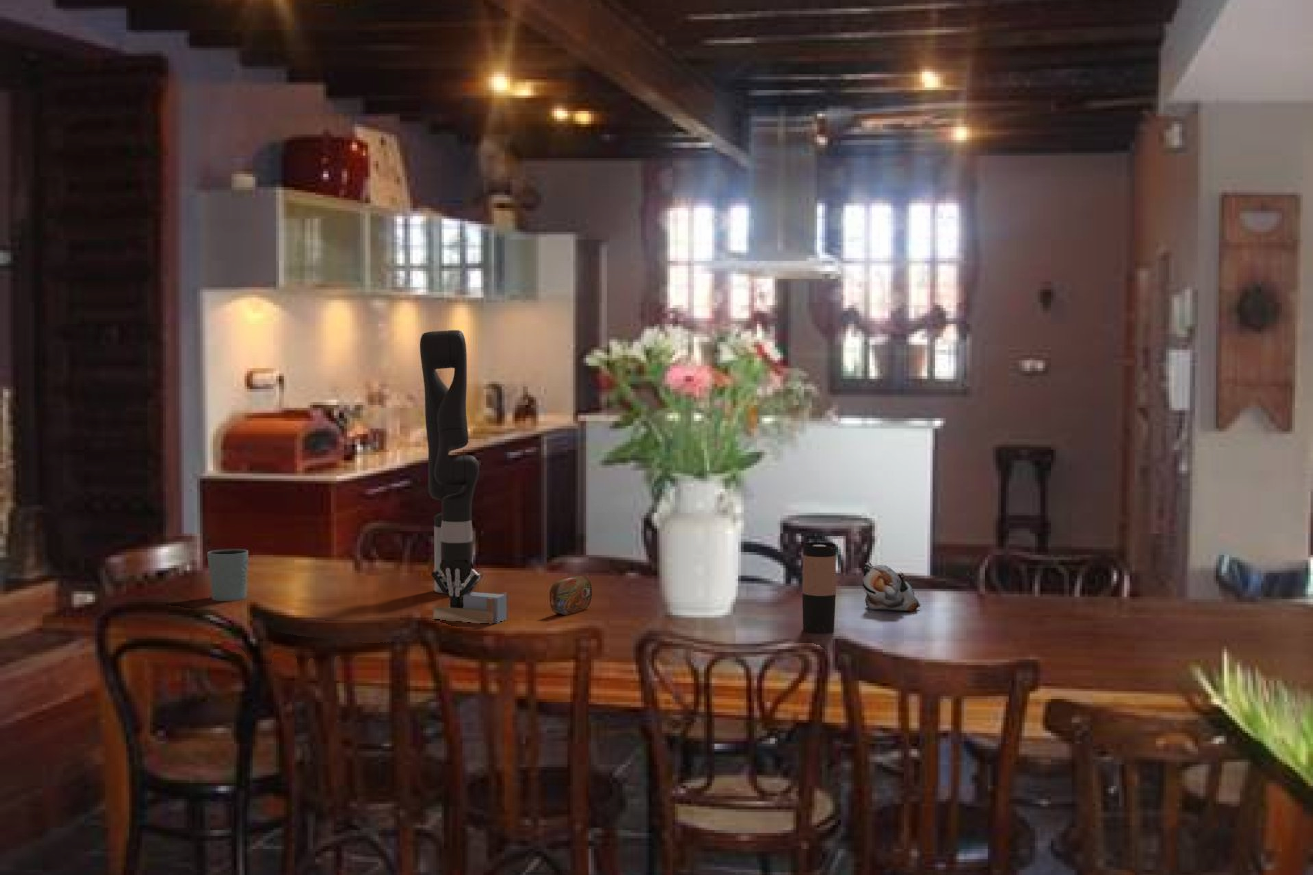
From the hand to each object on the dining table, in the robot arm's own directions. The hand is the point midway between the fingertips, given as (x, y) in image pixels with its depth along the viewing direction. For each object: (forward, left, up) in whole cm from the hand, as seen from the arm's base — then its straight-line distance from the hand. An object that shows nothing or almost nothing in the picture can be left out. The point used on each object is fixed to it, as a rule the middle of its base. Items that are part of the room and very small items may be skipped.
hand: (456, 611), depth 366 cm
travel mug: (-17, +84, -2) cm, 86 cm away
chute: (0, +3, -2) cm, 4 cm away
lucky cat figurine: (-49, +94, -2) cm, 106 cm away
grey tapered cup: (-2, -66, -2) cm, 66 cm away
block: (0, +8, -2) cm, 8 cm away
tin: (-17, +22, -2) cm, 28 cm away
